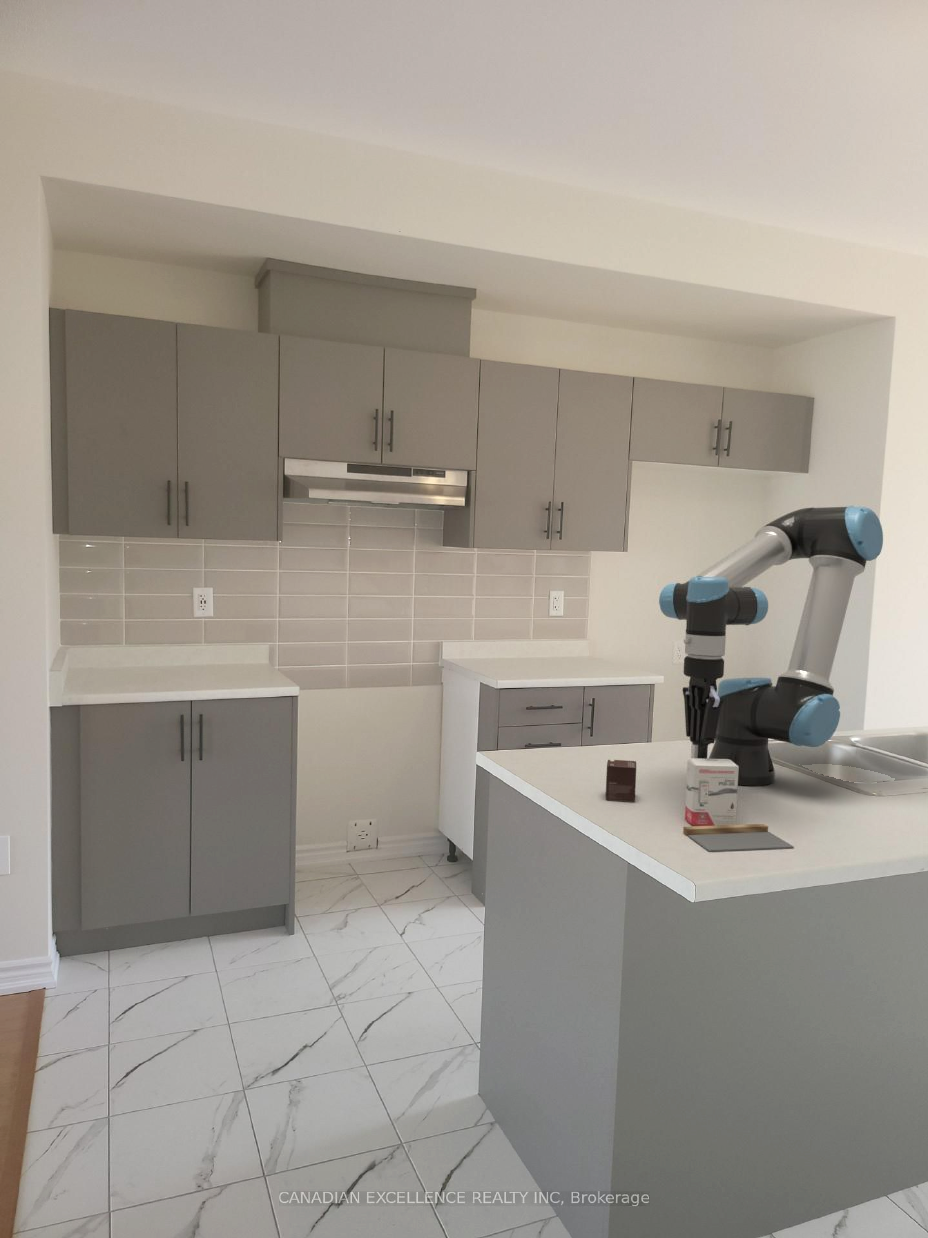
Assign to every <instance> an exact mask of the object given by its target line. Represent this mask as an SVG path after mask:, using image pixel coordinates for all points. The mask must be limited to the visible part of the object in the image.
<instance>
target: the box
mask: <svg viewBox="0 0 928 1238" xmlns="http://www.w3.org/2000/svg"><path fill="white" fill-rule="evenodd" d="M636 783H637V761H636V760H623V759H622V760H621V759H607V763H606V781H605V800H606V801H612V802H613V801H618V802H629V803H635V802H636V789H637V788H636V785H637V784H636Z"/></svg>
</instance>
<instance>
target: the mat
mask: <svg viewBox="0 0 928 1238" xmlns="http://www.w3.org/2000/svg"><path fill="white" fill-rule="evenodd" d="M687 837H688V838H689V839H690V840H692V841H693V842H695V843H696V844H697V845H699V846H700V847H701V848H703V850H705V851H707V852H708V853H716V852H719V853H720V852H736V851H737V852H740V851H743V852H744V851H758V850H759V851H760V850H761V851H762V850H765V851H766V850H787V849H794V848H795V846H793V845H792V844H790V843H789V842H787V841H786V840H783V839H782V838H780V837H778V836H777V835H775V834H774V833H772V832H770V831H768V832H756V833H730V834H704V835H688V836H687Z"/></svg>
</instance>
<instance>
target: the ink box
mask: <svg viewBox="0 0 928 1238" xmlns="http://www.w3.org/2000/svg"><path fill="white" fill-rule="evenodd" d="M738 771H739V766H738V765H736V764H735V763H734V762H732V761H731V760H729V759H709V758H707V759H702V758H691V757H690V758H689V759H687V769H686V775H687V776H686V789H685V790H686V792H685V808H684V810H685V811H684V819H685V820H686V822H687V823H689V824H690V825H691V826H717V825H737V823H736V822H737V807H738V806H737V803H738V787H739V785H738Z"/></svg>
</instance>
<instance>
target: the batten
mask: <svg viewBox="0 0 928 1238" xmlns="http://www.w3.org/2000/svg"><path fill="white" fill-rule="evenodd" d="M682 829H683V834H684V835H685V836H686V837H688V835H704V834H730V833H756V832H769V826H768V825H767V824H765V823H752V824H751V823H750V824H745V823H744V824H736V825H717V826H693V825H691V826H683V828H682Z"/></svg>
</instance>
